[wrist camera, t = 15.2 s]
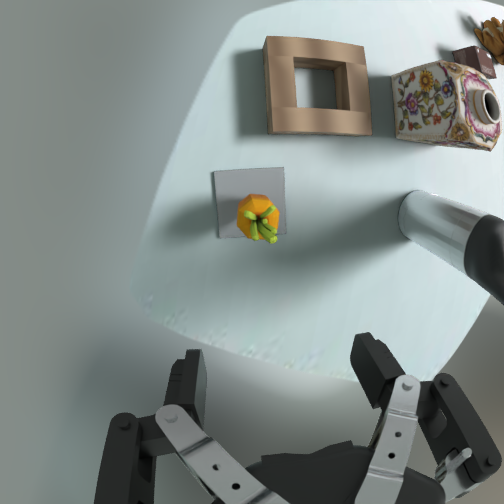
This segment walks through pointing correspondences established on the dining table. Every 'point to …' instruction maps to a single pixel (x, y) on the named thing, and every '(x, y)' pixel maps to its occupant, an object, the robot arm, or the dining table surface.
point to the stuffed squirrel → (493, 38)
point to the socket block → (316, 57)
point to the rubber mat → (241, 185)
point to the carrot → (258, 218)
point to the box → (476, 60)
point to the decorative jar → (446, 106)
